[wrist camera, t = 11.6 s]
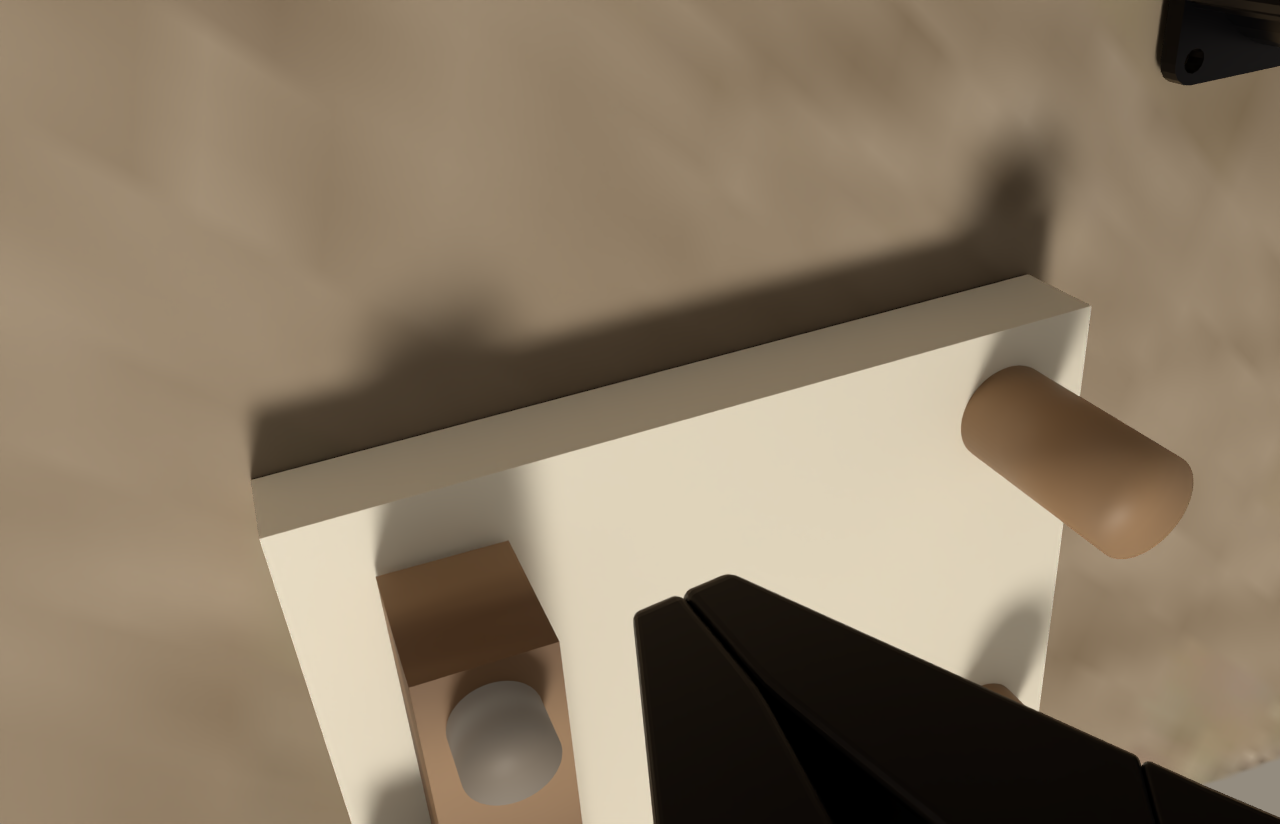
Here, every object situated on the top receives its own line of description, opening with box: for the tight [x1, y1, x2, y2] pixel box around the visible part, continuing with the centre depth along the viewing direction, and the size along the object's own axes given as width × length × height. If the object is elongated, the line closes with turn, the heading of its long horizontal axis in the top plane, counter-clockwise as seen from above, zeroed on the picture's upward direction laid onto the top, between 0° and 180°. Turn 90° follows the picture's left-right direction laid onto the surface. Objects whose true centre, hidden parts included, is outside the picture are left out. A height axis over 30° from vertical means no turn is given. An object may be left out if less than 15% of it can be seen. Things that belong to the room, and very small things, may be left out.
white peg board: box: [251, 274, 1193, 824], centre depth 23 cm, size 17×13×6 cm
